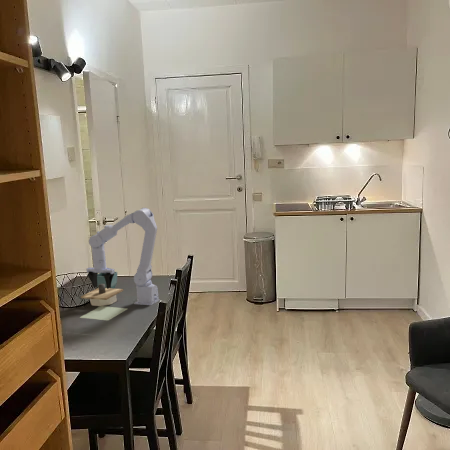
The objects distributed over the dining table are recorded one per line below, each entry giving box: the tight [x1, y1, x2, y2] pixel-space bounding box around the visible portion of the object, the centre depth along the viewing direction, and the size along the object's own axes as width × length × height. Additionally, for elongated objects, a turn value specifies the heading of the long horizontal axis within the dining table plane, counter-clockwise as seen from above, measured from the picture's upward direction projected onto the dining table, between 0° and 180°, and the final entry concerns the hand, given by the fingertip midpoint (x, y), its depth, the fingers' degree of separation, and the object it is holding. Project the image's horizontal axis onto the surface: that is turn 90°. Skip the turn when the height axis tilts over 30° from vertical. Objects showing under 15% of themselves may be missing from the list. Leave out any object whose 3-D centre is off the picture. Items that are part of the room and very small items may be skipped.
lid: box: [80, 284, 124, 300], centre depth 225 cm, size 14×14×5 cm
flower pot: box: [96, 271, 118, 289], centre depth 245 cm, size 9×9×9 cm
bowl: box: [89, 295, 118, 307], centre depth 226 cm, size 12×12×4 cm
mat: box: [79, 305, 128, 321], centre depth 211 cm, size 15×15×1 cm
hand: (102, 287), depth 225 cm, fingers open, 7 cm apart
